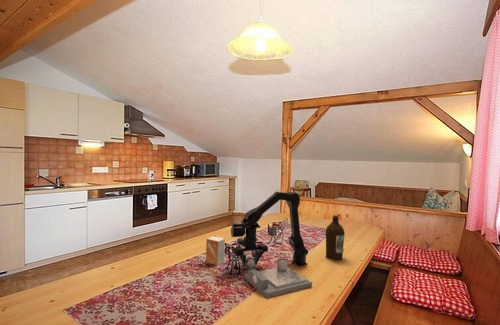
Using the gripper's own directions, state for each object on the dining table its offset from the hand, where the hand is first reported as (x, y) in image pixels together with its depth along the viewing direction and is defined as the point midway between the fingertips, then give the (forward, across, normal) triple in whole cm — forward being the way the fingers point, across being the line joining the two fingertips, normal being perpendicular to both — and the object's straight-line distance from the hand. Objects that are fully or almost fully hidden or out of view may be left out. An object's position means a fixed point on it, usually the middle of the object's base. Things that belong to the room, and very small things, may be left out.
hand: (249, 265), depth 141 cm
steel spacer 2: (-2, -10, +15) cm, 18 cm away
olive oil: (+1, -53, +7) cm, 53 cm away
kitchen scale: (+1, -4, +20) cm, 20 cm away
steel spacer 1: (+1, 0, 0) cm, 1 cm away
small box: (+1, +14, -14) cm, 20 cm away
